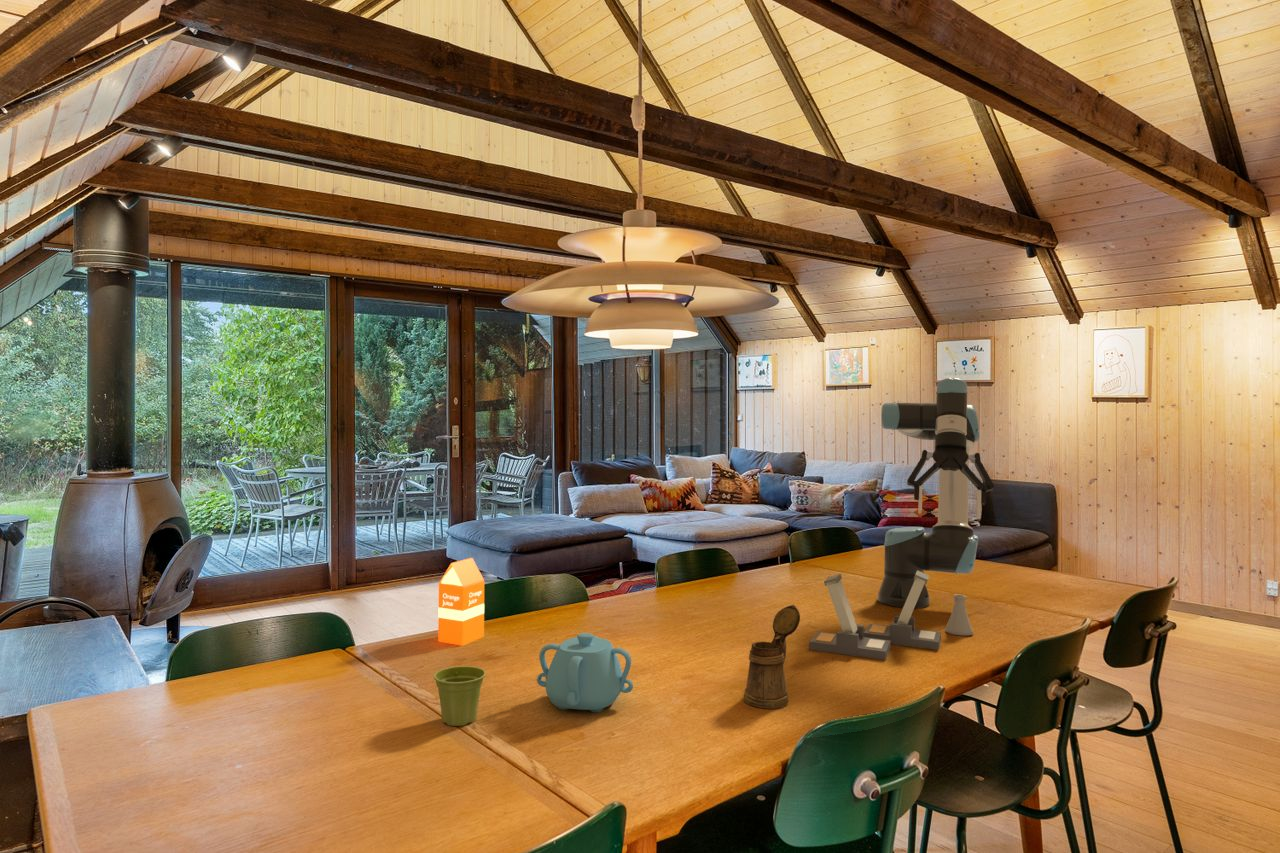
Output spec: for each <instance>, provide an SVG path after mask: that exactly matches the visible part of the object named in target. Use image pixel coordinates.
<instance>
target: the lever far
mask: <svg viewBox="0 0 1280 853" xmlns="http://www.w3.org/2000/svg"><path fill="white" fill-rule="evenodd" d="M929 578H930V574H927V573H925V572H924V573H923V572H920V571H918V570H917V572H916V574H915V576H914V579H915V581H914V583H913V586H912V588H911V590H910V593H909V595H908V598H907V600H906V602H905V605H904V607H902V609H901V612H900V615H899V616H900V617H899V619H898V621H897V624H905V625H907V624H908V622H909V619H910V617H912V614H913V612H914V610H915V608H914V607H915V605H916V603H917V600H918V598H919V596H920V593H921V591H922V588H923V586H924V584H925V585H927V583H928V581H929Z"/></svg>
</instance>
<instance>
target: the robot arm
mask: <svg viewBox="0 0 1280 853" xmlns="http://www.w3.org/2000/svg"><path fill="white" fill-rule="evenodd" d="M935 392H936V394H935V395H936V398H935V399H936V401H935V402H895V401H893V402H886V403H884V404H882V406H881V420H880V421H881V426H882V428H883V429H884V430H892V431H895V430H896V431H897V432H899V433H901V435H904V436H906V437H909V438H913V439H917V440H925V441H934V451H933V452H931V451H927V450H926V449H923V450H922V451H921V458H919V461H918V462H917V464H916V465H915V467H914V469H913V470H912V471H911V473H910V475H909V477H908V478H907V482H906V484H907V486H908V487H909V486H910V487H913V489H914V491H913V499H914V500H915V501H918V509H917V510H918V512H917V513H918V515H921V514H922V511H923V508H922V507H923V490H924V489H923V484H925V483H926V482H927V481H928V480H929V479H930V478H931V477H932V476H933V475H934V474H936V472H939V475H938V503H937V504H938V505H937V506H938V507H937V508H938V509H937V522H936V524H935V525H933V526H932V532H926V530H925V529H926V528H924V527H923V526H903V527H895V528H891V529H889V530H886V532H885V536H884V543H883V546H884V566H883V567H884V574H883V579H882V582H881V585H880V587H879V591H878V593H877V601H878V602H879V603H881V604H884V605H887V606H889V607H890V606H891V607H897V608H903V607H904V605H905V602H906V600H907V598H908V595H909V593H910V590H911V588H912V586H913V583H914V581H915V579H914V576H915V574H916V572H917V570H918V571H920V572H923V573H925V571H926V572H939V573H949V574H951V573H952V574H956V575H957V574H965V575H966V574H970V573H972V572H973V571H974V568H975V563H976V557H977V556H976V555H977V549H978V543H979V536H978V535H976V534H974V529H973V527H971V526H970V525H969V481H970V482H971V484H972V485H973V486H975V488H976V489H977V492H976V519H981V517H982V506H985V505H986V503H987V492H993V490H994V488H995V484H994V483H993V481H992V479H991V478H990V476H989V473H988V471H987V470H986V468H985V466H984V465H983V463H982V461H981V454H980V453H979V452H975V453H974V454H970V451H971V450H972V449H973V448H974V447H975V443H976V442H978V441H980V429H979V420H978V418H979V417H978V413H977V409H976V408H975V406H973V405H972V404H968V384H967V382H966V381H965V380H963V379H961V378H957V377H947V378H944V379H942V380H940V381H938V382H937V385H936V391H935ZM931 458H933V461H934V463H933V465H931V466H930V468H928V470H926V471H925V472H923V474H922V475H921V476H920V477H919V478H918V479H917V477H918V476H919V474H920V472H921V470H922V469H923V468H924V466H925V465H926V462H927V461H930V459H931ZM970 462H971V464H974V468H975V469H976V471H977V472H978V474H979V476H980V478H981V480H982V481H981V480H980V479H979V478H978V476H977V475H976V474H975V473H974V472H973V471H972V470H971V469H970ZM916 479H917V480H916ZM928 591H929V590H928V589H927V584H924V586H923V588H922V591H921V593H920V596H919V598H918V600H917V603H916V605H915V607H914V609H915V608H916V609H920V608H925V607H929V606H930V595H929V592H928Z"/></svg>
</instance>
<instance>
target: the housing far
mask: <svg viewBox="0 0 1280 853" xmlns="http://www.w3.org/2000/svg"><path fill="white" fill-rule="evenodd" d="M899 617H900V615H896V614H894V616H893V622H890V624H889V625H888V624H887V625H886V624H885V625H884V624H879V623H876V624H875V623H871V622H870V623H868V625H867V626H866V627H865V628H864V637H867V638H874V639H882V640H890V641H891V645H893V644H896V645H895V646H901V645H903V646H904V647H909V646H912V647H911V648H917V647H919V649H925V648H927V649H926V650H933V649H934V650H933V651H939V650H940V645H941V640H942V632H941V631H936V630H926V629H918V628H915V622H916V620H915V616H911V617H910V619H909V622H908V624H907V625H905V624H897V621H898V619H899Z"/></svg>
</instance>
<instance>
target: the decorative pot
mask: <svg viewBox="0 0 1280 853" xmlns="http://www.w3.org/2000/svg"><path fill="white" fill-rule="evenodd" d="M548 650H556V652H555V654H554V656H553V658H552V660H551V663H550V664H549V666H548V663H547V660H546V652H547V651H548ZM538 655H539V657H538V658H539V663H540V666H541V669H542V672H540V673H539V674H538V675H537V678H536V682H537V685H539V686H540V687H543V688H545V691H546V692H545V693H546V695H547V697H548V699H549V700H550V702H551V703H552V705H554V706H556V707H557V709H559V710H564V711H565V710H569V709H570V710H578V711H579V710H580V711H581V710H582V711H583V710H584V711H590V712H592V713H601V712H603V711H604V708H608V707H610V705H612V704H613V703H614V702H616V700H617V699H618V697H619V696H620V694H621V693H623V694H628V693H630V692H632V691H633V688H634V683H633V681H632V680H631V679H629V678H628V679H627V677H628V675H629V673H630V670H631V666H632V656H631V654H630V653H629V652H628V651H627V650H626V649H624V648H622V647H614V646H613V643H612V642H611V641H610V640H609V639H606V638H601V637H599V636H597V635H594V634H593V633H590V632H581V633H578V634H576V637H575V636H574V637H570V638H567V639H565V640H564V641H562V642H561V643H560V644H557V643H548V644H546V645H544V646H543V647H542V648H541V650H540V651H539V654H538ZM618 655H620V656H622V657H624V659H625V666H624V669H623V671H622V667H621V664H620V660H619V657H618ZM543 677H545V678H544V679H545V680H543V679H542V678H543ZM625 684H627V685H628V687H626V686H625Z"/></svg>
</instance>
